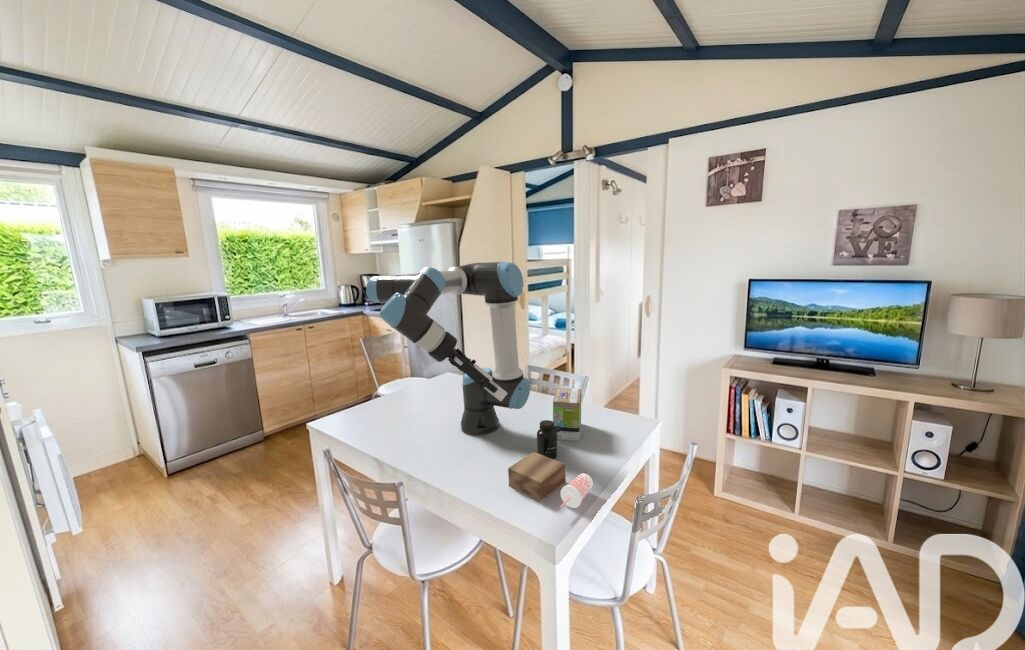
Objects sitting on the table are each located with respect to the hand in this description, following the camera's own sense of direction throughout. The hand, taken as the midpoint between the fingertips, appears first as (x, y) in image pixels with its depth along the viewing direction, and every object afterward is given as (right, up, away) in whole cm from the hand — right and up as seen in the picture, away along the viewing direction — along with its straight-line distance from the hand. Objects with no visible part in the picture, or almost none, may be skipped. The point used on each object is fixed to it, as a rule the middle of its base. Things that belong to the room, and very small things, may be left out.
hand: (496, 388), depth 107 cm
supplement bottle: (+16, -27, +25) cm, 40 cm away
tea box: (+25, -23, +42) cm, 55 cm away
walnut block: (+12, -30, +10) cm, 34 cm away
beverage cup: (+25, -27, +5) cm, 38 cm away
